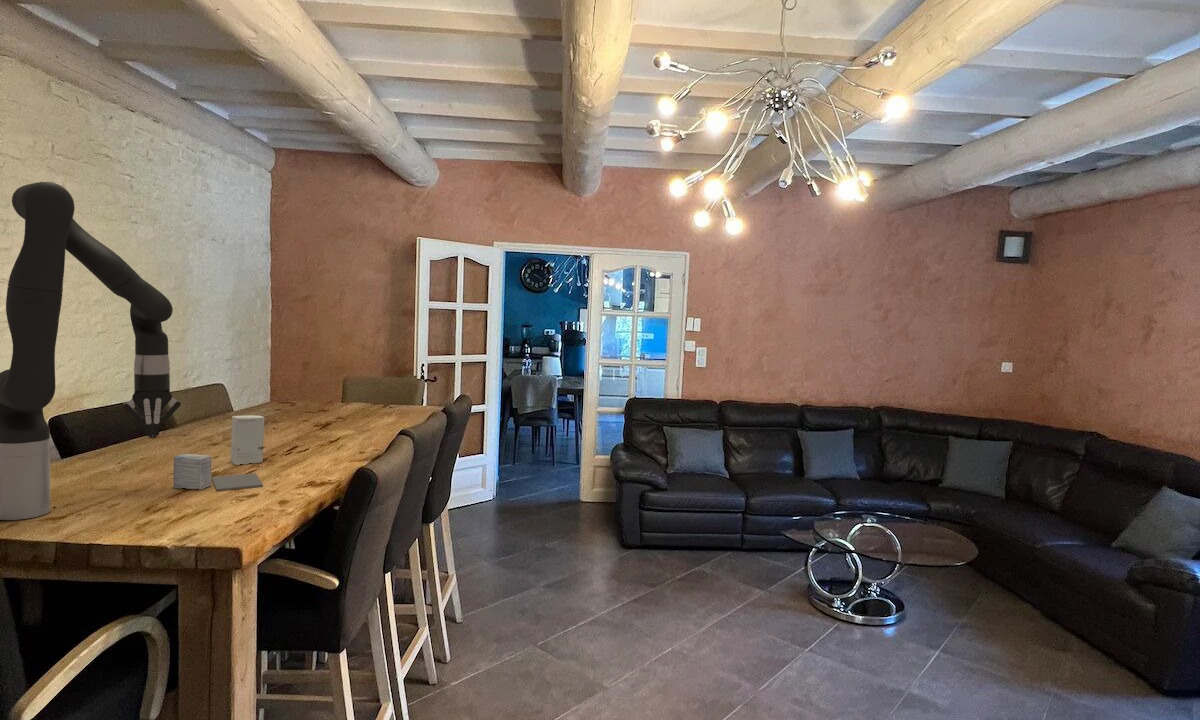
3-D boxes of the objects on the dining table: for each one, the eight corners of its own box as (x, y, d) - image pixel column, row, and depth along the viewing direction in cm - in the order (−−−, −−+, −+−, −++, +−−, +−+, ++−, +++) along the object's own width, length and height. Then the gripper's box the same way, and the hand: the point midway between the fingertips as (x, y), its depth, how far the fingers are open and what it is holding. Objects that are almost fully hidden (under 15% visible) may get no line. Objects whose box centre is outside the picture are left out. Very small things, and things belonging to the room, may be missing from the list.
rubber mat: (216, 491, 168) (216, 489, 168) (211, 479, 180) (211, 477, 180) (262, 486, 175) (262, 484, 175) (255, 475, 186) (255, 473, 186)
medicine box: (212, 486, 173) (212, 455, 172) (200, 490, 169) (200, 458, 168) (185, 484, 174) (185, 453, 173) (172, 488, 169) (172, 456, 169)
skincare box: (234, 465, 196) (235, 418, 195) (229, 462, 200) (230, 415, 199) (264, 462, 201) (265, 416, 200) (258, 459, 206) (259, 413, 205)
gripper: (119, 373, 157) (120, 442, 158) (183, 372, 165) (183, 438, 166) (120, 370, 163) (121, 437, 164) (181, 369, 171) (182, 433, 172)
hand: (152, 437), depth 165 cm, fingers closed
